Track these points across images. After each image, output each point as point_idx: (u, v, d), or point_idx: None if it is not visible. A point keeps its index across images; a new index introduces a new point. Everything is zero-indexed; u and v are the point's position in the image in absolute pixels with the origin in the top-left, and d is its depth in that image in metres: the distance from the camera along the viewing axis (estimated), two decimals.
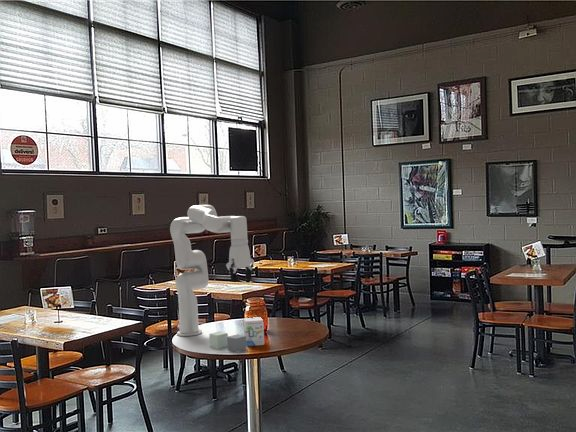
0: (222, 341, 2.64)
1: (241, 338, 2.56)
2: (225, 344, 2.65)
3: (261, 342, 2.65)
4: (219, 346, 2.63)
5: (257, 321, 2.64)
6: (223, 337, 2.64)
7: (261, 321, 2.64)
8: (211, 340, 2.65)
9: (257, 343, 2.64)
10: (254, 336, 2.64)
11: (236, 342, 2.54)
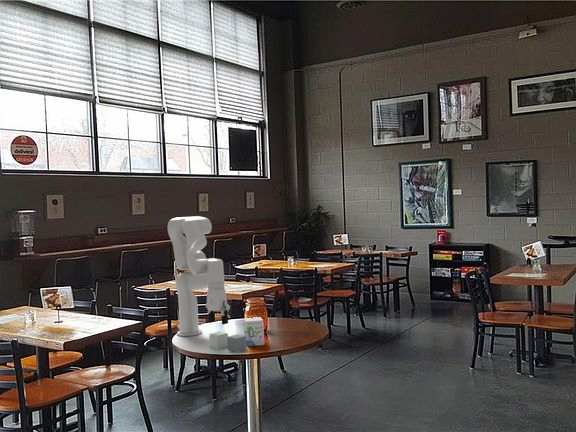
0: (222, 341, 2.64)
1: (241, 338, 2.56)
2: (225, 344, 2.65)
3: (261, 342, 2.65)
4: (219, 346, 2.63)
5: (257, 321, 2.64)
6: (223, 337, 2.64)
7: (261, 321, 2.64)
8: (211, 340, 2.65)
9: (257, 343, 2.64)
10: (254, 336, 2.64)
11: (236, 342, 2.54)
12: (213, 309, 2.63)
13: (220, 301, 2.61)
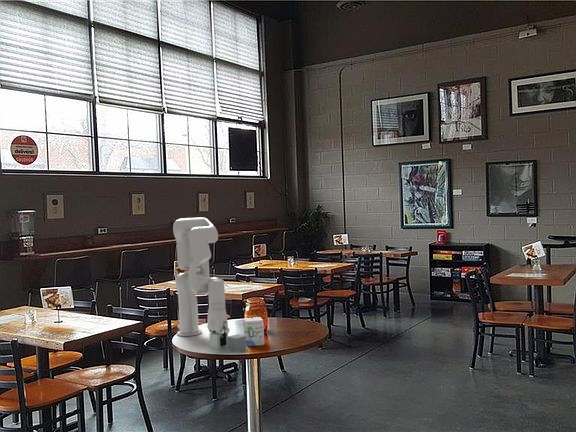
0: None
1: (241, 338, 2.56)
2: None
3: (261, 342, 2.65)
4: (219, 346, 2.63)
5: (257, 321, 2.64)
6: None
7: (261, 321, 2.64)
8: (211, 340, 2.65)
9: (257, 343, 2.64)
10: (254, 336, 2.64)
11: (236, 342, 2.54)
12: (214, 329, 2.64)
13: (221, 322, 2.61)
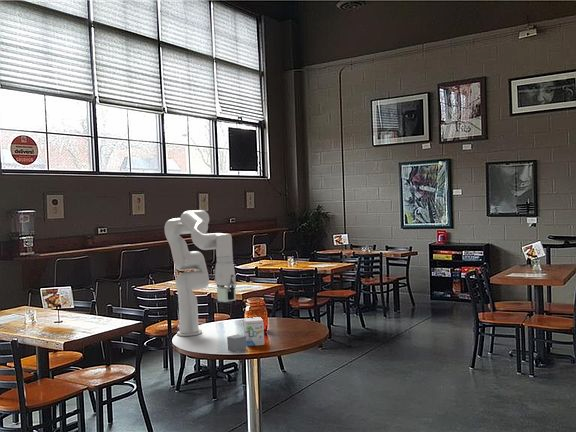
0: None
1: (241, 338, 2.56)
2: None
3: (261, 342, 2.65)
4: (227, 300, 2.62)
5: (257, 321, 2.64)
6: None
7: (261, 321, 2.64)
8: (219, 294, 2.65)
9: (257, 343, 2.64)
10: (254, 336, 2.64)
11: (236, 342, 2.54)
12: (221, 283, 2.64)
13: (228, 275, 2.61)
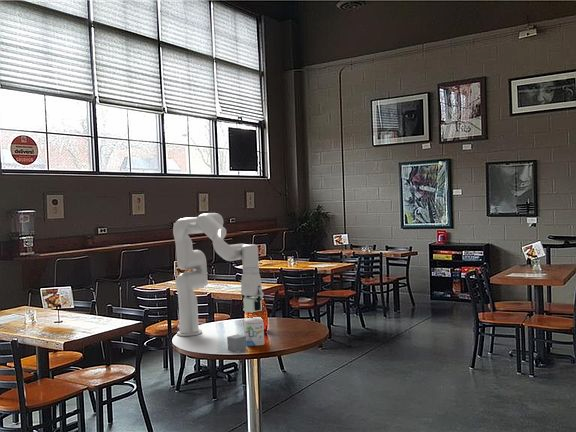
0: None
1: (241, 338, 2.56)
2: None
3: (261, 343, 2.65)
4: (253, 310, 2.64)
5: (257, 321, 2.64)
6: None
7: (261, 321, 2.64)
8: (245, 305, 2.67)
9: (257, 343, 2.64)
10: (254, 336, 2.64)
11: (236, 342, 2.54)
12: (248, 294, 2.65)
13: (255, 286, 2.63)
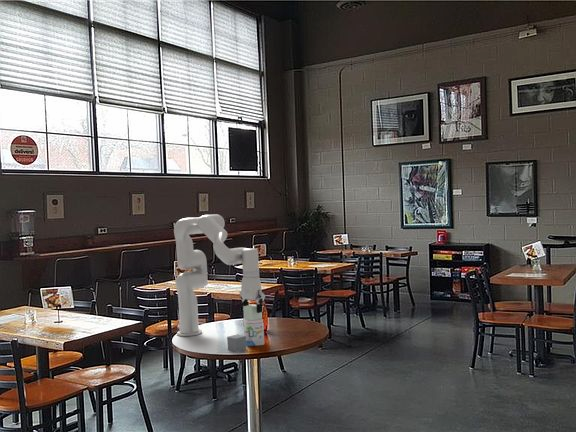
0: (256, 313, 2.66)
1: (241, 338, 2.56)
2: (259, 316, 2.67)
3: (261, 342, 2.65)
4: (253, 318, 2.64)
5: (257, 321, 2.64)
6: None
7: (261, 321, 2.64)
8: (245, 312, 2.67)
9: (257, 343, 2.64)
10: (254, 336, 2.64)
11: (236, 342, 2.54)
12: (248, 298, 2.65)
13: (255, 290, 2.63)
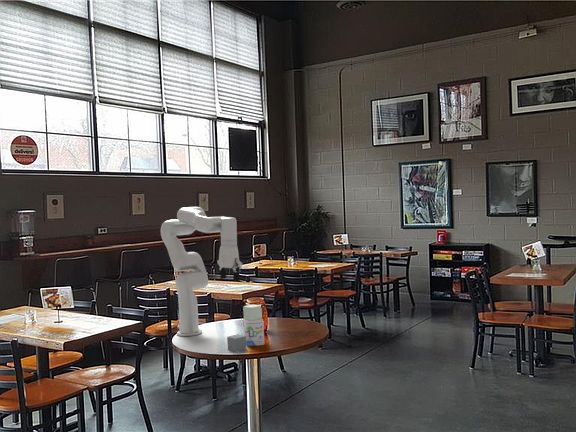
0: (256, 313, 2.66)
1: (241, 338, 2.56)
2: (259, 316, 2.67)
3: (261, 342, 2.65)
4: (253, 318, 2.64)
5: (257, 321, 2.64)
6: (257, 309, 2.66)
7: (261, 321, 2.64)
8: (245, 312, 2.67)
9: (257, 343, 2.64)
10: (254, 336, 2.64)
11: (236, 342, 2.54)
12: (225, 266, 2.69)
13: (233, 258, 2.66)
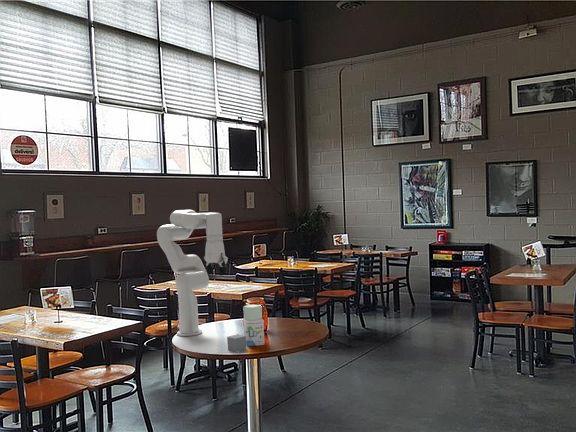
0: (256, 313, 2.66)
1: (241, 338, 2.56)
2: (259, 316, 2.67)
3: (261, 342, 2.65)
4: (253, 318, 2.64)
5: (257, 321, 2.64)
6: (258, 309, 2.66)
7: (261, 321, 2.64)
8: (245, 312, 2.67)
9: (257, 343, 2.64)
10: (254, 336, 2.64)
11: (236, 342, 2.54)
12: (211, 261, 2.71)
13: (218, 253, 2.68)
